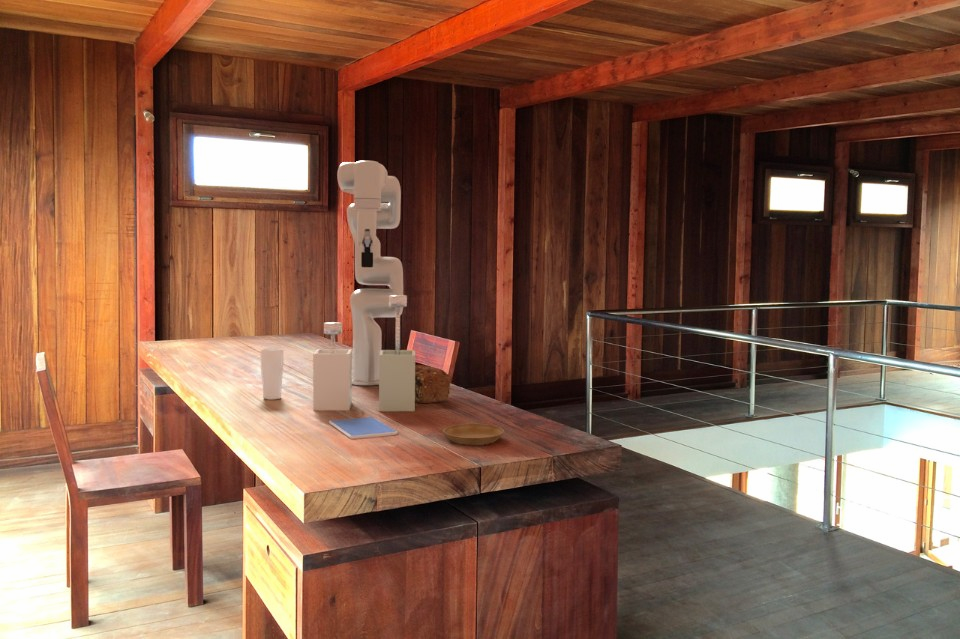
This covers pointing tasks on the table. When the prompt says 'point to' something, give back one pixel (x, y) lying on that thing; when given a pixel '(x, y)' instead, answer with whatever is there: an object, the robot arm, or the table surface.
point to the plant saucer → (473, 433)
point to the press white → (332, 379)
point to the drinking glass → (272, 372)
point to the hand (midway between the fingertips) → (367, 266)
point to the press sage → (397, 380)
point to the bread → (431, 384)
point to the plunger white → (332, 332)
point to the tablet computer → (362, 428)
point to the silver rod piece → (397, 316)
